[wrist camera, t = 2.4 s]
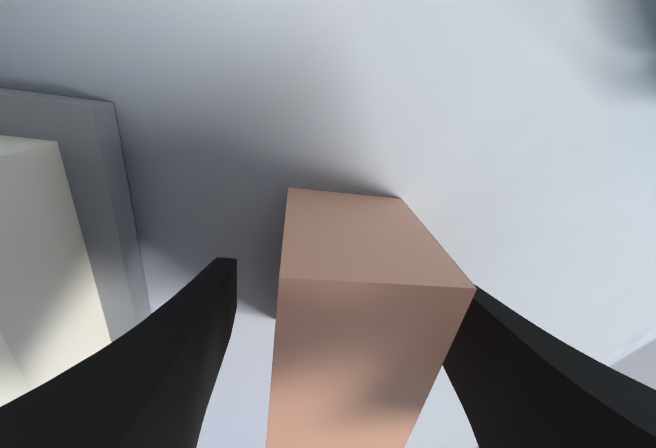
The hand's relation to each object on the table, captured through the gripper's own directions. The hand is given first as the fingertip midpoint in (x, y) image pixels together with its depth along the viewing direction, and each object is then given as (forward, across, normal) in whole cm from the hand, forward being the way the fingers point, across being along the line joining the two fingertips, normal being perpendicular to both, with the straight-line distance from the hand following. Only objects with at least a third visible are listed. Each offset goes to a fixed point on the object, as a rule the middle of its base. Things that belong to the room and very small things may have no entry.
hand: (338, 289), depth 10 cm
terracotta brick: (+2, 0, 0) cm, 2 cm away
